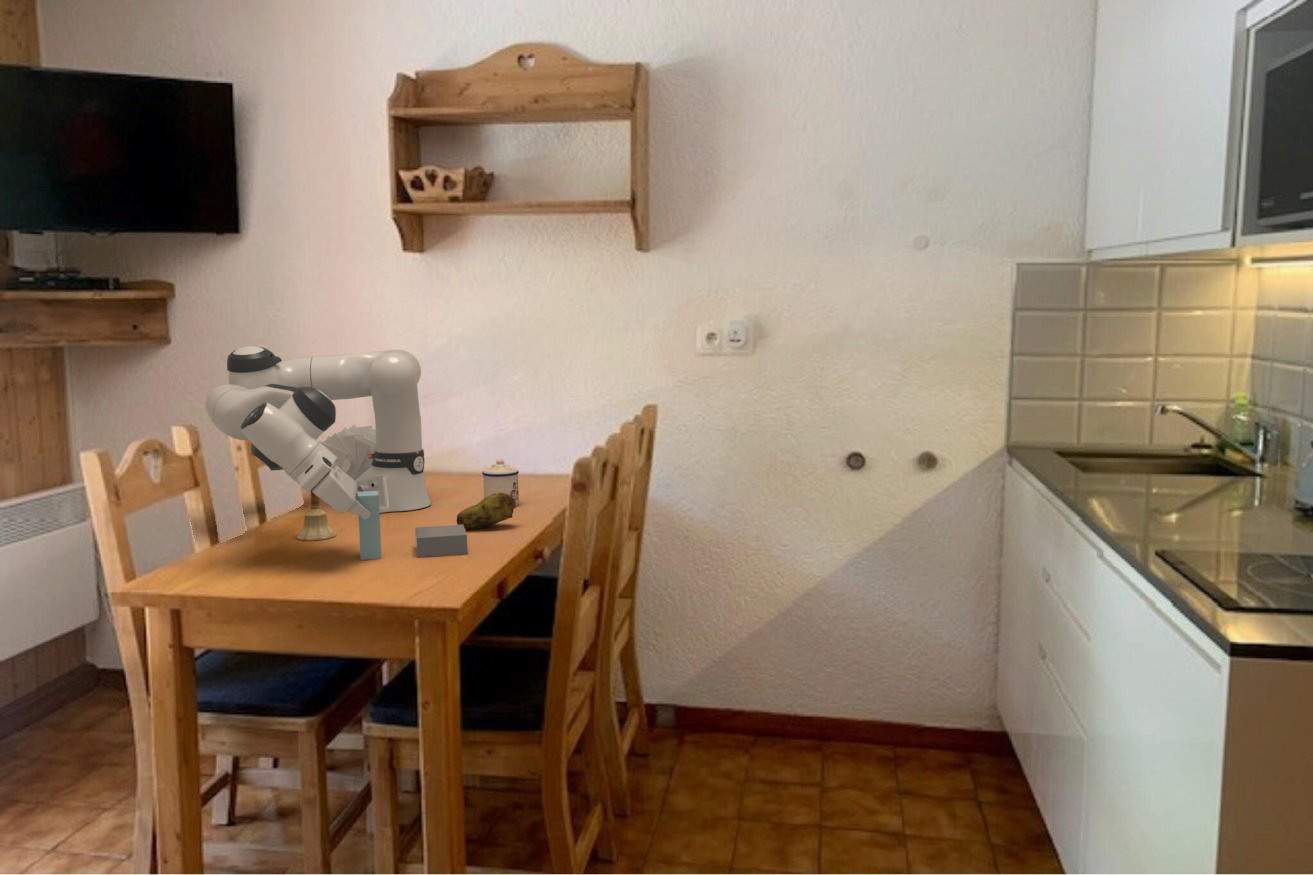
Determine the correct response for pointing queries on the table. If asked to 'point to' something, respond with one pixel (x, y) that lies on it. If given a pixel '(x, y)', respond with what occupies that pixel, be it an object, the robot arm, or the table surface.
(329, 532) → the hand bell
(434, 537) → the slate slab
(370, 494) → the teal block
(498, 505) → the potato
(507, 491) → the teacup with lid
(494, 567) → the table surface
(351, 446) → the spiral staircase
